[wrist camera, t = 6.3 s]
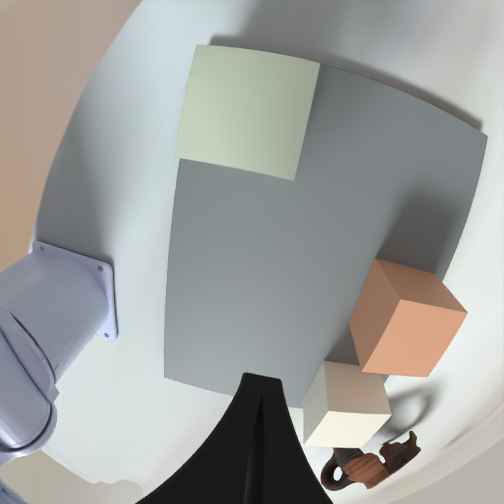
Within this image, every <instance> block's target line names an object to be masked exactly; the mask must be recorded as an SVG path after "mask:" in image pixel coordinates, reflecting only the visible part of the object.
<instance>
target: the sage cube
mask: <svg viewBox="0 0 504 504" xmlns="http://www.w3.org/2000/svg"><path fill="white" fill-rule="evenodd" d="M319 67H320V63H318V62H314V61H310V60H306V59H301V58H297V57H292V56H287V55H282V54H277V53H271V52H265V51H258V50H251V49H244V48H235V47H225V46H213V45H196V49H195V53H194V57H193V61H192V65H191V70H190V74H189V78H188V83H187V87H186V92H185V97H184V102H183V107H182V112H181V117H180V123H179V128H178V134H177V140H176V146H175V153H174V157H175V158H182V159H188V160H194V161H200V162H206V163H211V164H217V165H222V166H227V167H232V168H238V169H242V170H247V171H252V172H257V173H261V174H266V175H270V176H275V177H279V178H283V179H288V180H292V181H294V179H295V175H296V170H297V166H298V162H299V158H300V153H301V149H302V145H303V140H304V136H305V132H306V127H307V123H308V118H309V114H310V109H311V105H312V100H313V95H314V91H315V86H316V81H317V77H318V72H319Z"/></svg>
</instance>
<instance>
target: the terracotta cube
mask: <svg viewBox="0 0 504 504" xmlns="http://www.w3.org/2000/svg"><path fill="white" fill-rule="evenodd" d="M467 314H468V313H467V311H466V310H465V309H464V308H463V306H462V305H461V304H460V303H459V302H458V300H457V299H456V298H455V297H454V296H453V294H452V293H451V292H450V291H449V290H448V289H447V287H446V286H445V285H444V284H443V283H442V282H441V281H440V280H439V278H438V277H437V276H436V275H435V274H433V273H429V272H426V271H422V270H418V269H415V268H411V267H407V266H403V265H399V264H396V263H392V262H388V261H384V260H380V259H376V258H375V259H374V261H373V264H372V267H371V269H370V272H369V274H368V277H367V279H366V282H365V284H364V287H363V289H362V292H361V294H360V296H359V299H358V301H357V303H356V306H355V308H354V310H353V313H352V315H351V317H350V319H349V321H348V322H349V325H350V329H351V333H352V336H353V340H354V344H355V348H356V352H357V356H358V360H359V364H360V368H361V372H368V373H378V374H388V375H401V376H416V377H428V375H429V374H430V373H431V371H432V370H433V368H434V367H435V366H436V364H437V363H438V361H439V360H440V358H441V357H442V355H443V354H444V352H445V351H446V349H447V348H448V346H449V344H450V343H451V341H452V340H453V338H454V336H455V335H456V333H457V331H458V330H459V328H460V326H461V324H462V323H463V321H464V319H465V317H466V315H467Z"/></svg>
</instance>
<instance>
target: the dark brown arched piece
mask: <svg viewBox="0 0 504 504" xmlns="http://www.w3.org/2000/svg"><path fill="white" fill-rule="evenodd" d="M409 435H410V438H409V439H408V440H407V441H406V442H404V443H402V444H401V443H399V442H396V443H393V444H389V443H385V444H384V446H382V447H381V449H380V450H379V453H380V455H382V456H383V457H384V459H385V461H386V462H385V463H384V464H383V463H382V462H381V461H380V459H379V457H378V456H377V455H375V454H373V453H366V454H364V453H363V452H362V451H361V450H360V449H359V448H339V447H333V450H334V453H333V456H332V457H331V459H330V460H329V461H328V462H327V463H326V464H325V466H324V467H323V469H322V472H321V484H322V485H323V486H324V487H325V488H326V489H328V490H331V491H337V490H341V489H343V488H345V487H346V486H348V485H350V484H352V483H356V482H359V483H364V484H365V486H366V487H367V489H370V488H373V487H375V486H376V485H378V484H379V483H380V482H382V481H383V480H385V479H386V478H388V477H389V476H390V475H392V474H394V473H395V472H396V471H398V470H399V469H400V468H402V467H403V466H404V465H406V464H407V463H408V462H409V461H411V460H412V459H413V458H414V457H415V456H416V455H417V454H418V453H419V452H420V451H421V449H420V448H419V447H418V446H417V445H416V440H417V436H416V435H415V434H414V432H413V431H410V432H409ZM337 467H340V468H341V471H342V472H343V473H342V476H341V478H340V479H339V480H338V481H336V480H334V477H333V474H334V471H335V469H336V468H337Z"/></svg>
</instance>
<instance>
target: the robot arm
mask: <svg viewBox="0 0 504 504" xmlns="http://www.w3.org/2000/svg"><path fill="white" fill-rule="evenodd" d="M100 266H101V267H102V269H103V270H102V269H101V268H100ZM95 334H96V335H99V336H101V337H104V338H106V339H109V340H111V341H115V340H116V339H117V329H116V318H115V307H114V292H113V271H112V267H111V265H110V264H108V263H105V262H102V261H99V260H96V259H92V258H89V257H86V256H83V255H80V254H77V253H73V252H70V251H67V250H64V249H61V248H58V247H55V246H52V245H49V244H46V243H43V242H41V241H38V240H36V241H34V242H33V252H32V253H30V254H28V255H27V256H25V257H24V258H22V259H20V260H19V261H17V262H16V263H14V264H13V265H11V266H9V267H8V268H7V269H5V270H3V271H2V272H1V273H0V467H3V466H4V465H5V464H7V463H8V462H9V461H11V460H12V459H14V458H17V457H20V456H25V455H29V454H32V453H34V452H36V451H38V450H39V449H41V448H42V447H43V446H44V445H45V444H46V443H47V442H48V441H49V439H50V438H51V436H52V434H53V431H54V429H55V426H56V422H57V410H56V406H55V405H54V403H53V402H54V400H55V399H56V398H57V396H58V395H59V392H58V390H57V388H56V387H55V384H56V383H57V381H58V380H59V379H60V377H61V376H62V375H63V374H64V372H65V371H66V370H67V369H68V367H69V366H70V365H71V363H72V362H73V361H74V360H75V358H76V357H77V356H78V355H79V354H80V352H81V351H82V350H83V349H84V347H85V346H86V345H87V344H88V343H89V341H90V340H91V339H92V338H93V336H94V335H95ZM0 504H29V503H28V502H27V501H25V500H24V499H23V498H22V497H21V496H20V495H19V494H18V493H17V492H15V491H14V490H13V489H11V488H10V487H9V486H8V485H7V484H5V483H4V482H3V481H2V480H0ZM135 504H333V502H332V501H331V499H330V498H329V497H328V495H327V494H326V492H325V491H324V489H323V488H322V486H321V484H320V483H319V481H318V479H317V478H316V476H315V474H314V472H313V470H312V468H311V467H310V465H309V463H308V461H307V458H306V456H305V454H304V452H303V449H302V447H301V445H300V442H299V440H298V437H297V435H296V432H295V429H294V426H293V423H292V420H291V417H290V414H289V411H288V407H287V403H286V399H285V395H284V390H283V385H282V381H281V380H280V379H279V378H273V377H268V376H263V375H258V374H253V373H248V372H245V373H243V374H242V378H241V381H240V385H239V387H238V390H237V392H236V394H235V396H234V398H233V400H232V402H231V403H230V405H229V407H228V408H227V410H226V412H225V414H224V415H223V417H222V418H221V420H220V421H219V423H218V424H217V425H216V427H215V428H214V430H213V431H212V432H211V434H210V435H209V436H208V438H207V439H206V440H205V441H204V443H203V444H202V445H201V446H200V447H199V449H198V450H197V451H196V452H195V453H194V454H193V455H192V456H191V457H190V458H189V459H188V460H187V461H186V462H185V463H184V464H183V465H182V466H181V467H180V468H179V469H178V470H177V471H176V472H175V473H174V474H173V475H172V476H171V477H170V478H168V479H167V480H166V481H165V482H164V483H162V484H161V485H160V486H159V487H158V488H156V489H155V490H154V491H153V492H151V493H150V494H148V495H147V496H146V497H144V498H143V499H141V500H140V501H138V502H137V503H135Z"/></svg>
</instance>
